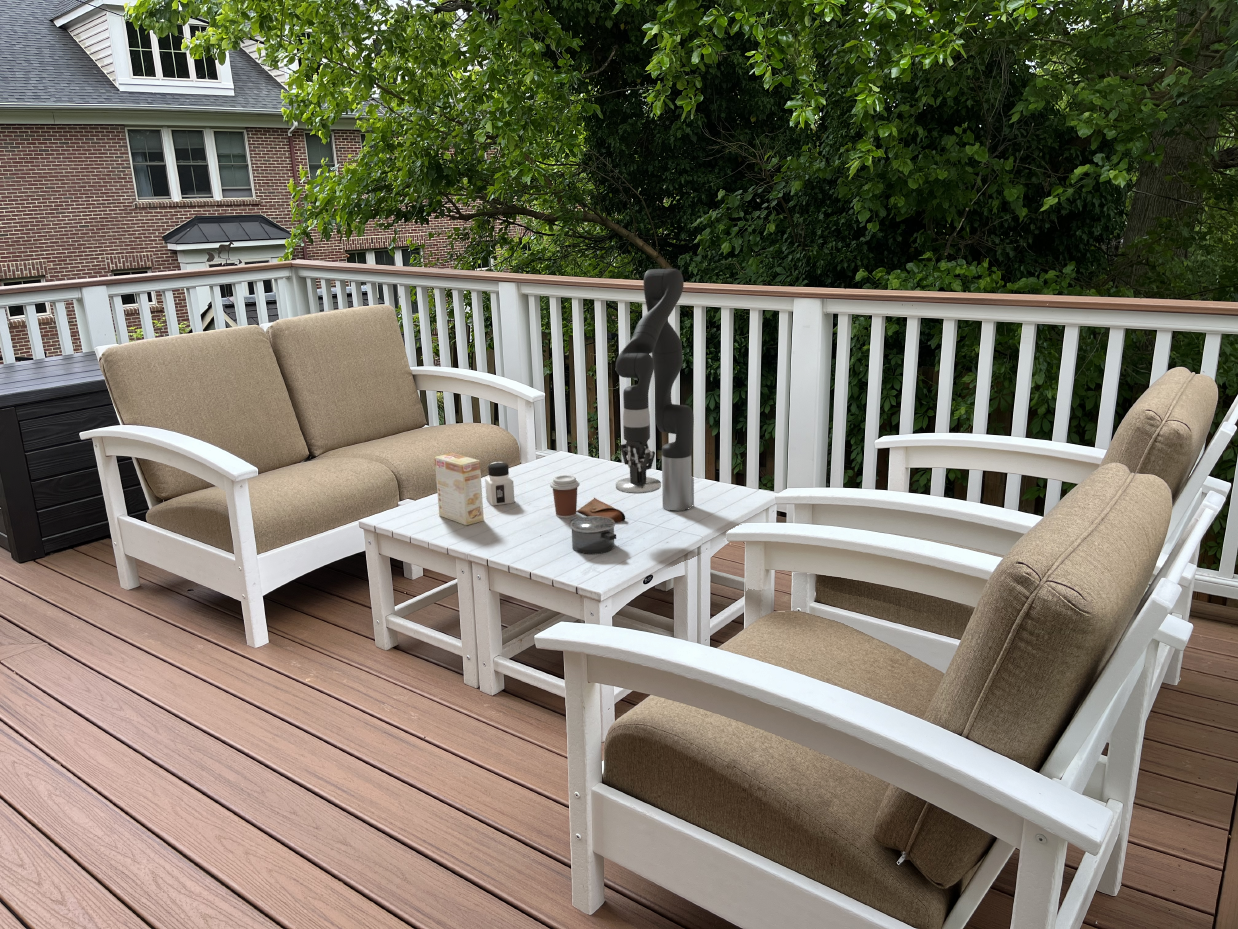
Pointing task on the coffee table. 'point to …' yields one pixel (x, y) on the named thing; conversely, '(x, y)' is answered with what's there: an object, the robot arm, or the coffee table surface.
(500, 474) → the container
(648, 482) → the lid
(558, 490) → the coffee cup
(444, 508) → the coffeecake box
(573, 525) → the pot
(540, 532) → the coffee table surface
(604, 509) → the sunglasses case
